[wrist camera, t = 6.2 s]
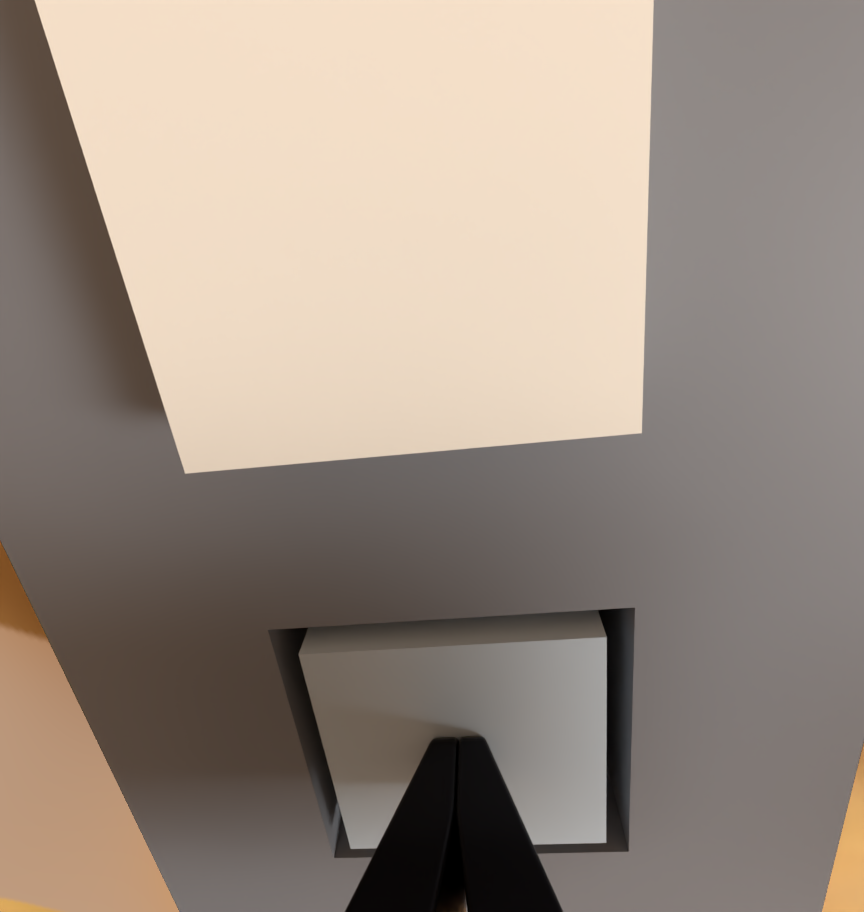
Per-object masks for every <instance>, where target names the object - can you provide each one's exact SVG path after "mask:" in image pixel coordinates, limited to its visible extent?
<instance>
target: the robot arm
mask: <svg viewBox="0 0 864 912" xmlns="http://www.w3.org/2000/svg"><path fill="white" fill-rule="evenodd" d="M466 905H467V912H563V910H562V908H561V905H560V903H559V901H558V899H557V896H556V894H555V892H554V890H553V887H552V885H551V883H550V881H549V879H548V876H547V874H546V872H545V870H544V867H543V865H542V863H541V861H540V859H539V856H538V854H537V852H536V850H535V847H534V845H533V843H532V841H531V839H530V836H529V834H528V832H527V830H526V827H525V825H524V823H523V821H522V819H521V816H520V814H519V812H518V810H517V807H516V805H515V803H514V801H513V798H512V796H511V794H510V792H509V790H508V787H507V785H506V783H505V781H504V778H503V776H502V774H501V772H500V770H499V767H498V765H497V763H496V761H495V758H494V756H493V754H492V752H491V750H490V747H489V745H488V743H487V741H486V739H485V738H484V737H483V736H463V737H461V738H460V739H459V741H458V739H457V738H455V737H439V738H434V739H432V740H431V742H430V743H429V745H428V747H427V749H426V751H425V753H424V755H423V757H422V759H421V761H420V763H419V765H418V767H417V769H416V771H415V773H414V775H413V777H412V779H411V781H410V783H409V785H408V787H407V789H406V791H405V793H404V795H403V797H402V799H401V801H400V803H399V805H398V807H397V809H396V811H395V813H394V815H393V817H392V819H391V821H390V823H389V825H388V827H387V829H386V831H385V832H384V834H383V836H382V838H381V840H380V842H379V844H378V846H377V848H376V850H375V852H374V854H373V856H372V858H371V860H370V862H369V864H368V866H367V868H366V870H365V872H364V874H363V876H362V878H361V880H360V882H359V884H358V886H357V888H356V890H355V892H354V894H353V896H352V898H351V900H350V902H349V904H348V906H347V908H346V910H345V912H466Z"/></svg>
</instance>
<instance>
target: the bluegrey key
mask: <svg viewBox="0 0 864 912" xmlns="http://www.w3.org/2000/svg"><path fill="white" fill-rule="evenodd" d="M298 655H299V658H300V662H301V666H302V670H303V673H304V677H305V681H306V684H307V688H308V692H309V696H310V699H311V703H312V707H313V710H314V714H315V718H316V722H317V725H318V729H319V733H320V737H321V740H322V744H323V748H324V751H325V755H326V759H327V763H328V766H329V770H330V774H331V777H332V781H333V785H334V789H335V792H336V796H337V800H338V803H339V807H340V811H341V815H342V818H343V822H344V826H345V829H346V833H347V837H348V841H349V844H350V848H351V849H370V848H377V846H378V844H379V842H380V840H381V838H382V836H383V834H384V832H385V831H386V829H387V827H388V825H389V823H390V821H391V819H392V817H393V815H394V813H395V811H396V809H397V807H398V805H399V803H400V801H401V799H402V797H403V795H404V793H405V791H406V789H407V787H408V785H409V783H410V781H411V779H412V777H413V775H414V773H415V771H416V769H417V767H418V765H419V763H420V761H421V759H422V757H423V755H424V753H425V751H426V749H427V747H428V745H429V743H430V742H431V740H432V739H434V738H439V737H455V738H457V739H458V741H459V739H460V738H461V737H463V736H483V737H484V738H485V739H486V741H487V743H488V745H489V747H490V750H491V752H492V754H493V756H494V758H495V761H496V763H497V765H498V767H499V770H500V772H501V774H502V776H503V778H504V781H505V783H506V785H507V787H508V790H509V792H510V794H511V796H512V798H513V801H514V803H515V805H516V807H517V810H518V812H519V814H520V816H521V819H522V821H523V823H524V825H525V827H526V830H527V832H528V834H529V836H530V839H531V841H532V843H533V845H538V844H580V843H606V750H607V636H606V633H605V630H604V627H603V624H602V621H601V618H600V615H599V612H598V610H586V611H569V612H553V613H537V614H520V615H504V616H487V617H471V618H455V619H438V620H422V621H406V622H389V623H373V624H356V625H340V626H324V627H308V630H307V633H306V635H305V638H304V641H303V644H302V646H301V649H300V652H299V654H298Z"/></svg>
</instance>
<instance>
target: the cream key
mask: <svg viewBox="0 0 864 912" xmlns="http://www.w3.org/2000/svg"><path fill="white" fill-rule="evenodd" d="M35 3H36V6H37V9H38V13H39V16H40V19H41V22H42V25H43V28H44V31H45V35H46V38H47V41H48V44H49V47H50V50H51V53H52V57H53V60H54V63H55V66H56V69H57V72H58V75H59V79H60V82H61V85H62V88H63V91H64V94H65V97H66V101H67V104H68V107H69V110H70V113H71V116H72V120H73V123H74V126H75V129H76V132H77V135H78V138H79V142H80V145H81V148H82V151H83V154H84V157H85V160H86V164H87V167H88V170H89V173H90V176H91V179H92V182H93V186H94V189H95V192H96V195H97V198H98V201H99V204H100V208H101V211H102V214H103V217H104V220H105V223H106V226H107V230H108V233H109V236H110V239H111V242H112V245H113V248H114V252H115V255H116V258H117V261H118V264H119V267H120V270H121V274H122V277H123V280H124V283H125V286H126V289H127V292H128V296H129V299H130V302H131V305H132V308H133V311H134V314H135V318H136V321H137V324H138V327H139V330H140V333H141V336H142V340H143V343H144V346H145V349H146V352H147V355H148V358H149V362H150V365H151V368H152V371H153V374H154V377H155V380H156V384H157V387H158V390H159V393H160V396H161V399H162V402H163V406H164V409H165V412H166V415H167V418H168V421H169V424H170V428H171V431H172V434H173V437H174V440H175V443H176V446H177V450H178V453H179V456H180V459H181V462H182V465H183V468H184V472H185V474H187V473H198V472H210V471H221V470H232V469H244V468H255V467H266V466H277V465H289V464H300V463H311V462H323V461H334V460H345V459H356V458H368V457H379V456H390V455H401V454H413V453H424V452H435V451H447V450H458V449H469V448H480V447H492V446H503V445H514V444H526V443H537V442H548V441H559V440H571V439H582V438H593V437H605V436H616V435H627V434H638V433H642V408H643V372H644V336H645V300H646V264H647V227H648V191H649V155H650V119H651V82H652V46H653V10H654V0H35Z"/></svg>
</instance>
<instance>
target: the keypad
mask: <svg viewBox="0 0 864 912" xmlns="http://www.w3.org/2000/svg"><path fill="white" fill-rule="evenodd" d="M0 541H1V543H2V545H3V547H4V549H5V551H6V553H7V555H8V558H9V560H10V562H11V564H12V566H13V568H14V570H15V572H16V574H17V576H18V578H19V580H20V582H21V584H22V587H23V589H24V591H25V593H26V595H27V597H28V599H29V601H30V603H31V605H32V607H33V609H34V611H35V613H36V616H37V618H38V620H39V622H40V624H41V626H42V628H43V630H44V632H45V634H46V636H47V638H48V640H49V642H50V645H51V647H52V649H53V651H54V653H55V655H56V657H57V659H58V661H59V663H60V665H61V667H62V669H63V671H64V674H65V676H66V678H67V680H68V682H69V684H70V686H71V688H72V690H73V692H74V694H75V696H76V698H77V700H78V703H79V704H80V706H81V709H82V711H83V713H84V715H85V717H86V719H87V721H88V723H89V725H90V727H91V729H92V731H93V733H94V736H95V738H96V740H97V742H98V744H99V746H100V748H101V750H102V752H103V754H104V756H105V758H106V760H107V763H108V765H109V767H110V769H111V771H112V773H113V775H114V777H115V779H116V781H117V783H118V785H119V787H120V790H121V791H122V794H123V795H124V798H125V800H126V802H127V804H128V806H129V808H130V810H131V812H132V814H133V816H134V819H135V821H136V823H137V825H138V827H139V829H140V831H141V833H142V835H143V837H144V839H145V841H146V843H147V845H148V847H149V850H150V851H151V853H152V856H153V858H154V860H155V862H156V864H157V866H158V868H159V870H160V872H161V874H162V877H163V878H164V881H165V882H166V885H167V887H168V889H169V891H170V893H171V895H172V897H173V899H174V901H175V903H176V905H177V908H178V910H179V912H345V910H346V908H347V906H348V904H349V902H350V900H351V898H352V896H353V894H354V892H355V890H356V888H357V886H358V884H359V882H360V880H361V878H362V876H363V874H364V872H365V870H366V868H367V866H368V864H369V862H370V860H371V858H372V856H373V854H374V852H375V850H376V848H370V849H351V848H350V844H349V841H348V837H347V833H346V829H345V826H344V822H343V818H342V815H341V811H340V807H339V803H338V800H337V796H336V792H335V789H334V785H333V781H332V777H331V774H330V770H329V766H328V763H327V759H326V755H325V751H324V748H323V744H322V740H321V737H320V733H319V729H318V725H317V722H316V718H315V714H314V710H313V707H312V703H311V699H310V696H309V692H308V688H307V684H306V681H305V677H304V673H303V670H302V666H301V662H300V658H299V655H298V654H299V652H300V649H301V646H302V644H303V641H304V638H305V635H306V633H307V630H308V627H324V626H340V625H356V624H373V623H389V622H406V621H422V620H438V619H455V618H471V617H487V616H504V615H520V614H537V613H553V612H569V611H586V610H598V612H599V615H600V618H601V621H602V624H603V627H604V630H605V633H606V636H607V750H606V843H580V844H538V845H534V847H535V850H536V852H537V854H538V856H539V859H540V861H541V863H542V865H543V867H544V870H545V872H546V874H547V876H548V879H549V881H550V883H551V885H552V887H553V890H554V892H555V894H556V896H557V899H558V901H559V903H560V905H561V908H562V910H563V912H822V909H823V905H824V901H825V897H826V893H827V888H828V884H829V880H830V876H831V872H832V868H833V864H834V860H835V856H836V852H837V848H838V844H839V840H840V836H841V832H842V828H843V824H844V820H845V816H846V812H847V808H848V803H849V799H850V795H851V791H852V787H853V783H854V779H855V775H856V771H857V767H858V763H859V759H860V755H861V751H862V747H863V743H864V0H654V10H653V46H652V82H651V119H650V155H649V191H648V227H647V264H646V300H645V336H644V372H643V408H642V433H638V434H627V435H616V436H605V437H593V438H582V439H571V440H559V441H548V442H537V443H526V444H514V445H503V446H492V447H480V448H469V449H458V450H447V451H435V452H424V453H413V454H401V455H390V456H379V457H368V458H356V459H345V460H334V461H323V462H311V463H300V464H289V465H277V466H266V467H255V468H244V469H232V470H221V471H210V472H198V473H187V474H185V472H184V468H183V465H182V462H181V459H180V456H179V453H178V450H177V446H176V443H175V440H174V437H173V434H172V431H171V428H170V424H169V421H168V418H167V415H166V412H165V409H164V406H163V402H162V399H161V396H160V393H159V390H158V387H157V384H156V380H155V377H154V374H153V371H152V368H151V365H150V362H149V358H148V355H147V352H146V349H145V346H144V343H143V340H142V336H141V333H140V330H139V327H138V324H137V321H136V318H135V314H134V311H133V308H132V305H131V302H130V299H129V296H128V292H127V289H126V286H125V283H124V280H123V277H122V274H121V270H120V267H119V264H118V261H117V258H116V255H115V252H114V248H113V245H112V242H111V239H110V236H109V233H108V230H107V226H106V223H105V220H104V217H103V214H102V211H101V208H100V204H99V201H98V198H97V195H96V192H95V189H94V186H93V182H92V179H91V176H90V173H89V170H88V167H87V164H86V160H85V157H84V154H83V151H82V148H81V145H80V142H79V138H78V135H77V132H76V129H75V126H74V123H73V120H72V116H71V113H70V110H69V107H68V104H67V101H66V97H65V94H64V91H63V88H62V85H61V82H60V79H59V75H58V72H57V69H56V66H55V63H54V60H53V57H52V53H51V50H50V47H49V44H48V41H47V38H46V35H45V31H44V28H43V25H42V22H41V19H40V16H39V13H38V9H37V6H36V3H35V0H0ZM466 912H467V905H466Z"/></svg>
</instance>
